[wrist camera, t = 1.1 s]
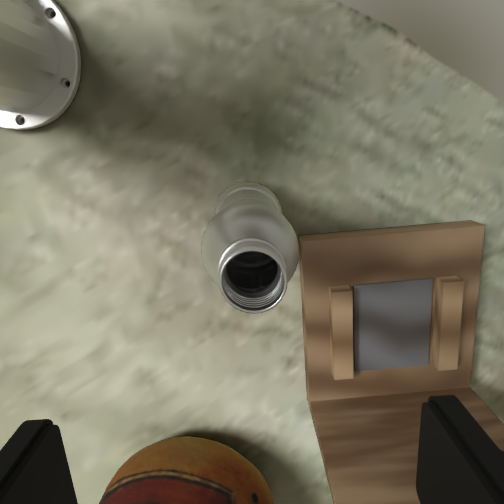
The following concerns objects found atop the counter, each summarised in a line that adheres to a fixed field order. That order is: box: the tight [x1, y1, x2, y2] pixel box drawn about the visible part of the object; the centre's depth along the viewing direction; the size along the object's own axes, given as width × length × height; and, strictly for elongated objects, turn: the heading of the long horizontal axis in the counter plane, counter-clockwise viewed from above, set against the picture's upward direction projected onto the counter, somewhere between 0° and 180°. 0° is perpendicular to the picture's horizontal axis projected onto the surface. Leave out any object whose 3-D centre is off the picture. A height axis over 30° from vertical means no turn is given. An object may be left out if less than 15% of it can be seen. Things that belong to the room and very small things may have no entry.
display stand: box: [298, 220, 504, 504], centre depth 35 cm, size 20×18×16 cm
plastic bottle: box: [201, 182, 299, 313], centre depth 29 cm, size 6×7×20 cm
